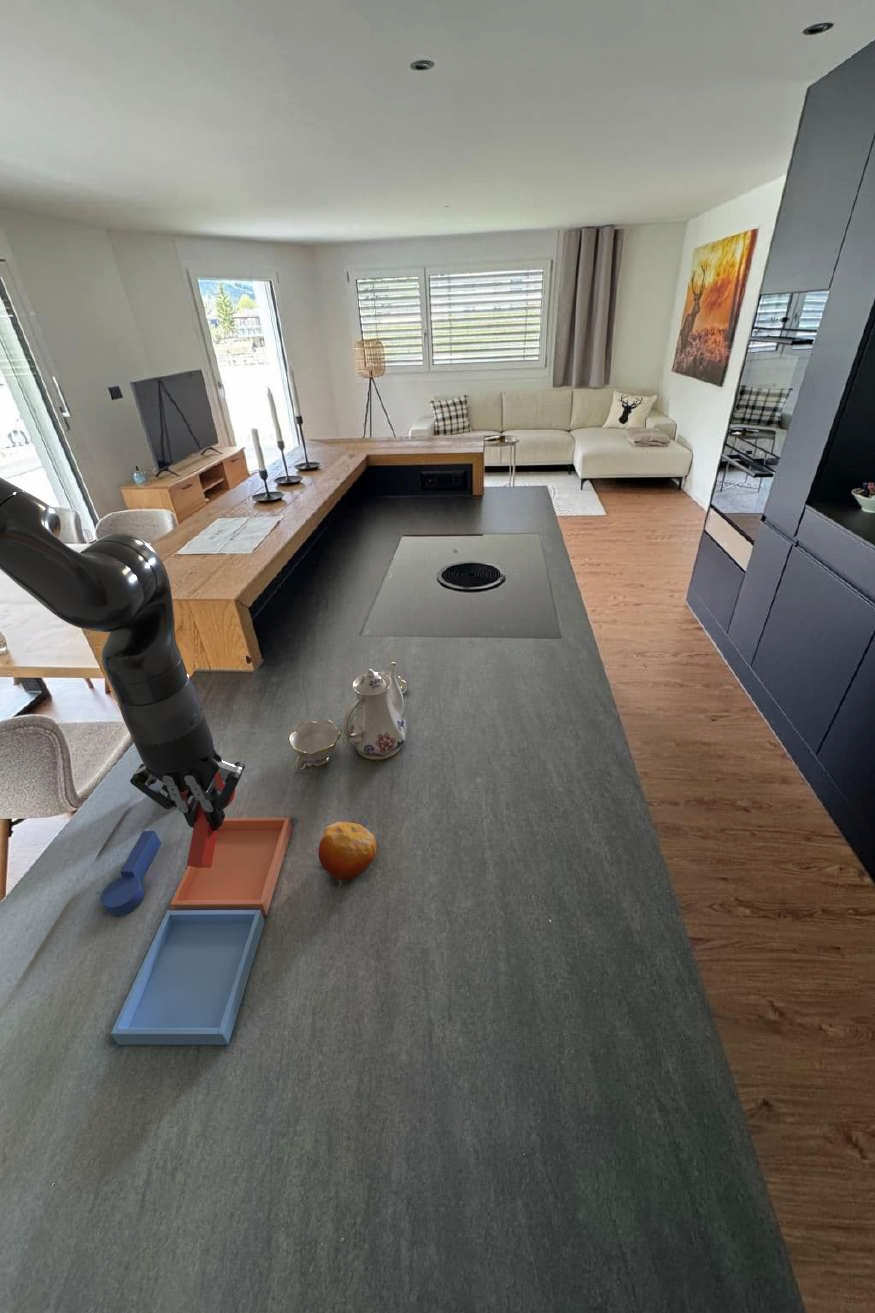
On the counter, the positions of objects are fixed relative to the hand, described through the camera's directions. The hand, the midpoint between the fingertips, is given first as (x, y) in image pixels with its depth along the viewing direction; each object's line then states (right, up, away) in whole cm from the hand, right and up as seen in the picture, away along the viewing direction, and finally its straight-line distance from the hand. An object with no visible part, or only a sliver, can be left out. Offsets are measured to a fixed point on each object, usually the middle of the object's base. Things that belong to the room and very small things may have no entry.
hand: (208, 825), depth 70 cm
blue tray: (0, -17, -4) cm, 17 cm away
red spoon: (0, +1, +1) cm, 1 cm away
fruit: (+17, -8, +9) cm, 20 cm away
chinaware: (+16, +6, +31) cm, 36 cm away
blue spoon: (-14, -10, +8) cm, 19 cm away
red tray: (+1, -9, +9) cm, 13 cm away
